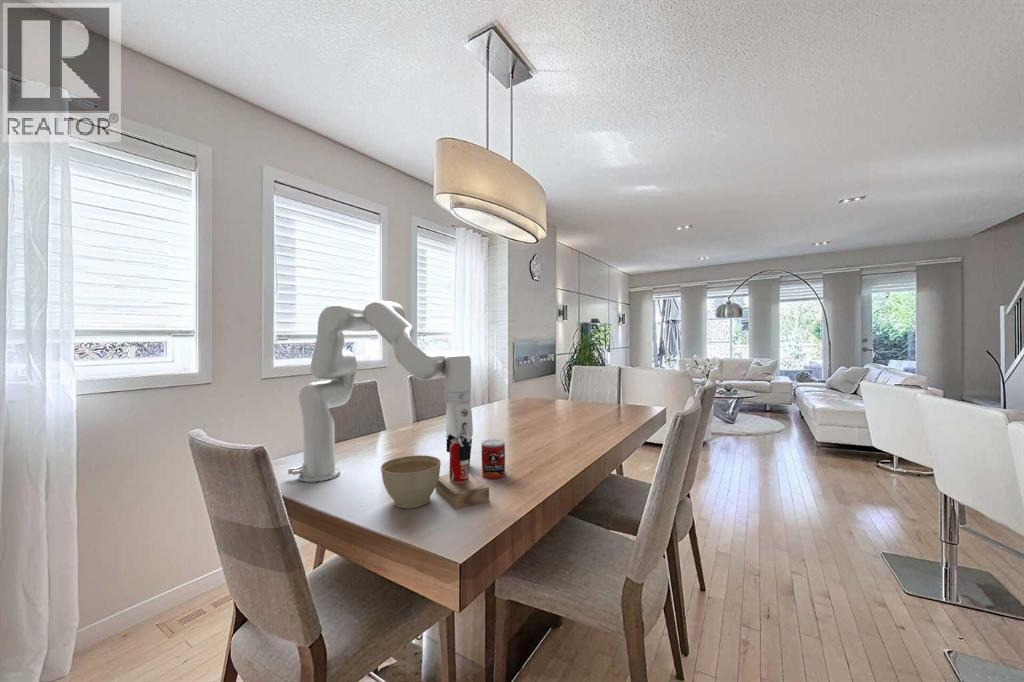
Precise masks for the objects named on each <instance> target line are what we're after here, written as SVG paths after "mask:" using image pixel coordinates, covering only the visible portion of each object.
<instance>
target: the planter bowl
mask: <svg viewBox="0 0 1024 682" xmlns="http://www.w3.org/2000/svg"><path fill="white" fill-rule="evenodd" d="M441 462H442V461H441V459H440V458H438V457H436V456H433V455H425V454H424V455H422V454H421V455H420V454H419V455H417V454H416V455H407V456H401V457H396V458H392V459H389V460H387V461H385V462H383V463H382V464H381V466H380V472H381V476H382V477H381V478H382V482H383V485H384V488H385V490H386V492H387V494H388V495H389V497H390V498H391V499H392V500H393V502H394V505H395V506H396V507H398V508H400V509H413V508H415V509H416V508H418V507H421V506H424V505H427V504H428V503H429V501H430V499H431V495H432V494H433V492H434V491H435V490H436V485H437V482H438V479H439V476H440V473H441V465H442V464H441Z"/></svg>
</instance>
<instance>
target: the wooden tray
mask: <svg viewBox="0 0 1024 682" xmlns="http://www.w3.org/2000/svg"><path fill="white" fill-rule="evenodd" d="M435 491H436V492H437V494H439V495H440V496H441V497H442V498H443V499H444V500H445V501H446V502H447V503H448V504H450V506H451V507H452V508H454V509H455V510H458V509H462V508H465V507H467V508H468V507H470V506H475V505H479V504H480V505H481V504H482V503H488V501H489V502H490V487H489V486H488V485H487V484H485V483H484V482H483V481H481V480H480V479H478V478H477V477H476V476H473V474H471V473H469V479H468V480H467V481H466V482H463V483H454V482H452V481H451V480H450V473H449V474H445V475H439V479H438V482H437V485H436V487H435Z"/></svg>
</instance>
